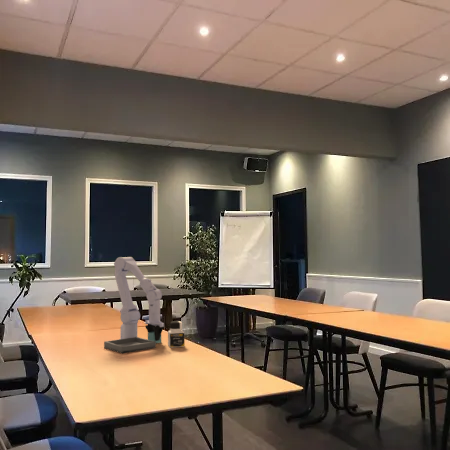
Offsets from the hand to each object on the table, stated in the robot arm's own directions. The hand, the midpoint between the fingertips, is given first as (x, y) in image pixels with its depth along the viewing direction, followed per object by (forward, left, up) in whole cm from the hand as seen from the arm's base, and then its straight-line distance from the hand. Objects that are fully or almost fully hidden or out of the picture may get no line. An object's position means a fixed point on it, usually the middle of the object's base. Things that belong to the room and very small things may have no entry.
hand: (154, 339), depth 237 cm
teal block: (0, 0, -1) cm, 1 cm away
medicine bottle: (+15, +3, -2) cm, 15 cm away
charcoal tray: (+3, -16, -1) cm, 16 cm away
